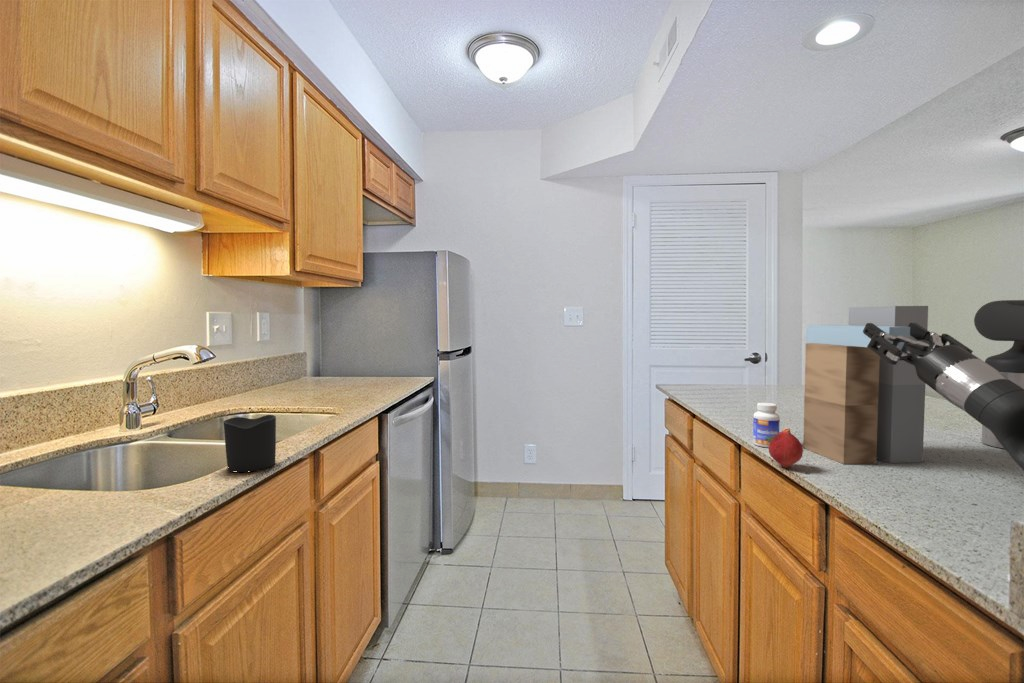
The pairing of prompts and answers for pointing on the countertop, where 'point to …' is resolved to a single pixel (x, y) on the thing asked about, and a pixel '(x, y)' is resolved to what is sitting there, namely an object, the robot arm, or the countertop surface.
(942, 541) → the countertop surface
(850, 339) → the beam
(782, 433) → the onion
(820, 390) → the block
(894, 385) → the block
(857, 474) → the countertop surface
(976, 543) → the countertop surface
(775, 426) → the pill bottle
